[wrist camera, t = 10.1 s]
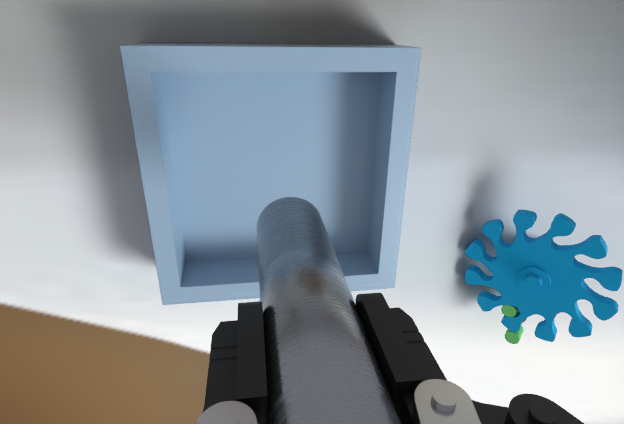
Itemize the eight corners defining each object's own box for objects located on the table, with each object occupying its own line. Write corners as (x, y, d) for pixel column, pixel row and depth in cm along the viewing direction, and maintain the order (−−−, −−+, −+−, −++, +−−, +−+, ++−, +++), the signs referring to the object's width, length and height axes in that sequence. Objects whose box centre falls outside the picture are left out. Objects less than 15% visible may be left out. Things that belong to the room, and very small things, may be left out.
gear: (487, 193, 28) (657, 259, 24) (509, 170, 33) (657, 223, 28) (440, 309, 34) (570, 382, 29) (464, 277, 38) (581, 336, 34)
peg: (323, 195, 18) (433, 440, 7) (321, 254, 20) (414, 537, 9) (254, 198, 18) (267, 460, 7) (257, 258, 19) (272, 560, 8)
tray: (396, 44, 25) (421, 47, 22) (377, 257, 31) (394, 287, 28) (139, 42, 23) (119, 45, 20) (173, 270, 29) (162, 304, 26)
